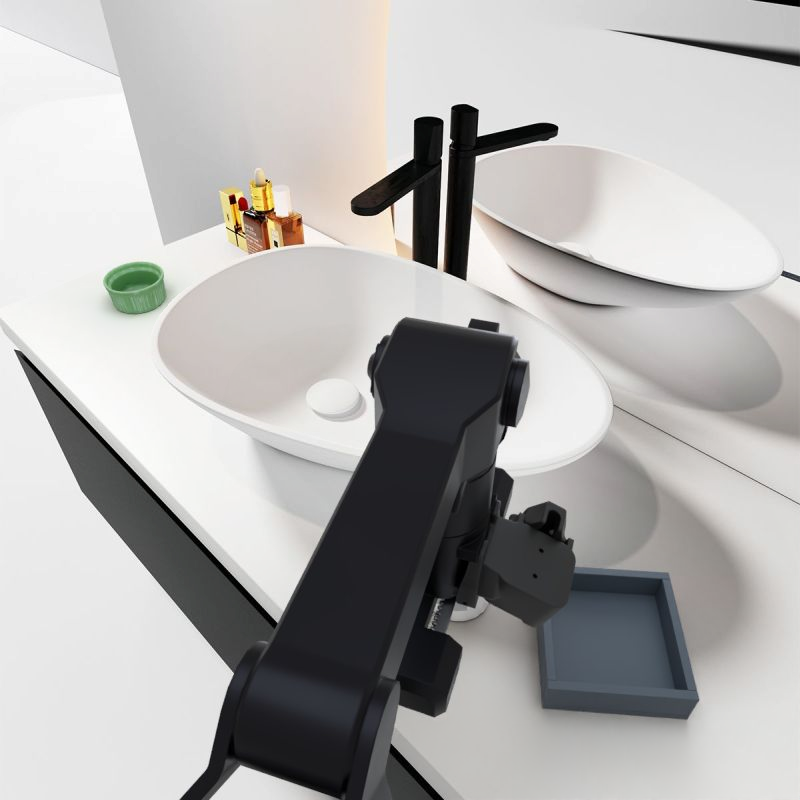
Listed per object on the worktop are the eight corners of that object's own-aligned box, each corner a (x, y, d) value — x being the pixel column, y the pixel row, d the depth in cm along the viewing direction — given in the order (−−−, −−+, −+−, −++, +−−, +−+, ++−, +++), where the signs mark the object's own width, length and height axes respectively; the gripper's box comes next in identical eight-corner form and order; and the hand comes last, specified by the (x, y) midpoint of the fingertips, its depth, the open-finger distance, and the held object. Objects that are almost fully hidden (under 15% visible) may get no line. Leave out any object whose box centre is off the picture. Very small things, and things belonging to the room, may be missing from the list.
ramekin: (149, 321, 106) (141, 296, 103) (99, 311, 108) (90, 286, 105) (180, 289, 112) (174, 266, 109) (132, 280, 114) (125, 257, 111)
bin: (687, 719, 61) (699, 700, 58) (542, 708, 62) (548, 688, 59) (659, 593, 70) (668, 572, 68) (533, 585, 71) (538, 563, 68)
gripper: (546, 682, 34) (513, 796, 45) (597, 429, 47) (563, 563, 58) (337, 614, 37) (353, 737, 47) (440, 393, 50) (435, 528, 60)
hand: (436, 632), depth 53 cm, fingers open, 9 cm apart
